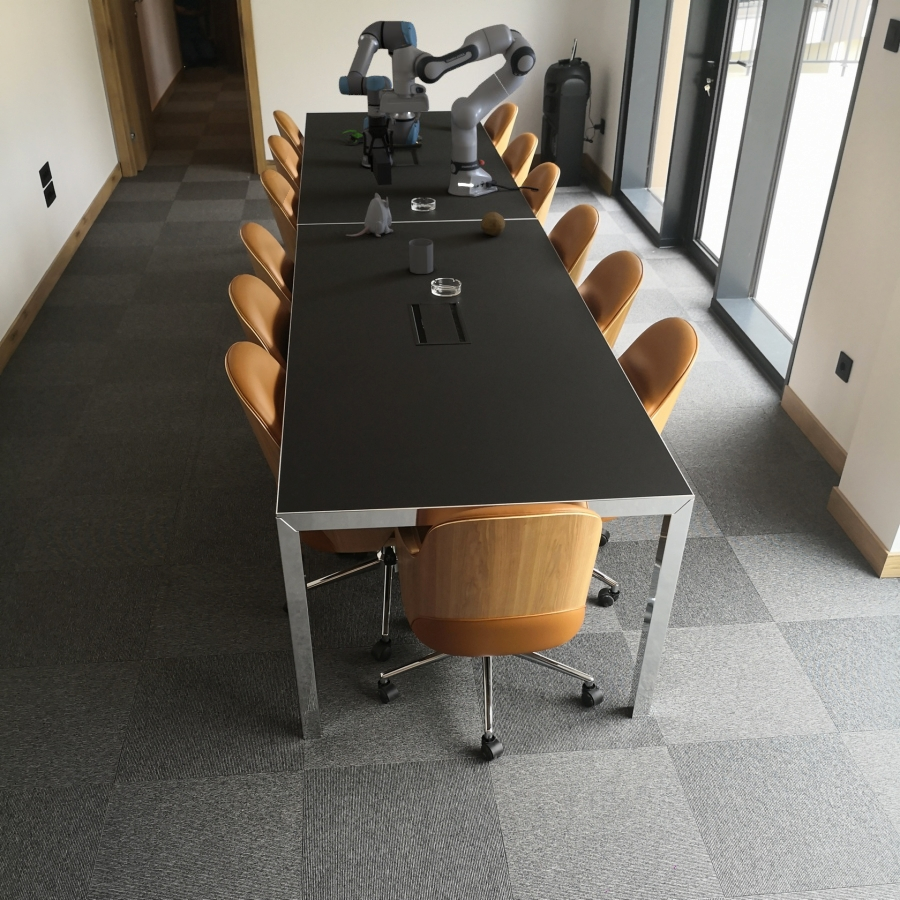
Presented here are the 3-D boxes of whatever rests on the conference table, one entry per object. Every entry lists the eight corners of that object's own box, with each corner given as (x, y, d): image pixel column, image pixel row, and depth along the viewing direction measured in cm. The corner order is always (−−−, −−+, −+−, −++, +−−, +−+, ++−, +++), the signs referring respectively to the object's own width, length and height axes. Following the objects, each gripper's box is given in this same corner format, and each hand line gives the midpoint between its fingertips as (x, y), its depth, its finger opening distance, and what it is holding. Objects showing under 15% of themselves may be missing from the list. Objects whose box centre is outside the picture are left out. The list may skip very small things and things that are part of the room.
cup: (409, 265, 311) (408, 238, 306) (432, 265, 312) (431, 238, 307) (410, 274, 304) (409, 246, 299) (433, 273, 305) (433, 246, 299)
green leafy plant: (396, 126, 467) (340, 124, 465) (396, 141, 460) (339, 139, 458) (396, 136, 472) (341, 134, 470) (396, 151, 465) (340, 149, 463)
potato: (502, 228, 347) (503, 208, 342) (507, 239, 335) (507, 219, 331) (478, 228, 346) (478, 208, 342) (481, 240, 334) (482, 219, 330)
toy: (398, 232, 342) (397, 194, 334) (353, 246, 328) (351, 207, 320) (383, 227, 348) (381, 189, 340) (338, 241, 333) (335, 202, 325)
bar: (371, 170, 383) (370, 149, 378) (384, 169, 384) (384, 148, 379) (378, 185, 363) (377, 163, 358) (391, 184, 364) (391, 162, 359)
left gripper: (355, 118, 363) (358, 174, 376) (400, 116, 366) (401, 172, 379) (354, 114, 370) (357, 169, 382) (397, 112, 373) (399, 167, 385)
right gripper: (379, 90, 348) (380, 126, 355) (429, 88, 351) (430, 124, 358) (377, 87, 353) (379, 122, 360) (427, 85, 356) (427, 121, 364)
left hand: (379, 170), depth 381 cm, fingers closed on bar, 6 cm apart
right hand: (405, 123), depth 359 cm, fingers open, 8 cm apart
